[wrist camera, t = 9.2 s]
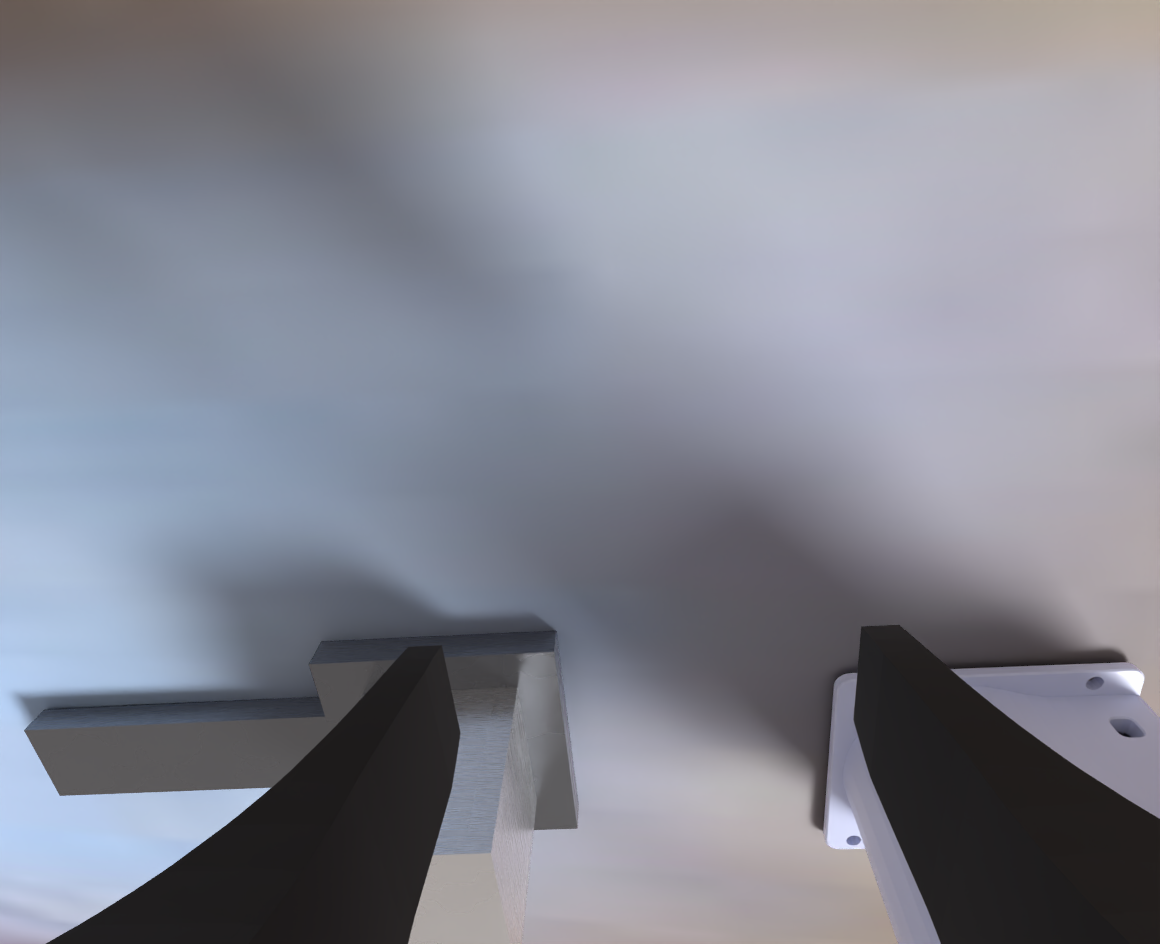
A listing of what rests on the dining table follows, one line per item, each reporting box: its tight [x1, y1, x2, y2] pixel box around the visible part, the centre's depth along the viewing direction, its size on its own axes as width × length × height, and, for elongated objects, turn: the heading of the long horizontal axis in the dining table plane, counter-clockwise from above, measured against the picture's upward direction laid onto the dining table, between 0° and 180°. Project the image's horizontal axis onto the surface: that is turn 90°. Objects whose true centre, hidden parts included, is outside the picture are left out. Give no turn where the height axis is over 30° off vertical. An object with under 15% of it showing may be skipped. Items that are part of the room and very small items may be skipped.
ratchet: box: [24, 631, 579, 830], centre depth 24 cm, size 19×8×4 cm, turn 95°
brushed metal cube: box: [360, 687, 537, 944], centre depth 22 cm, size 5×5×6 cm
